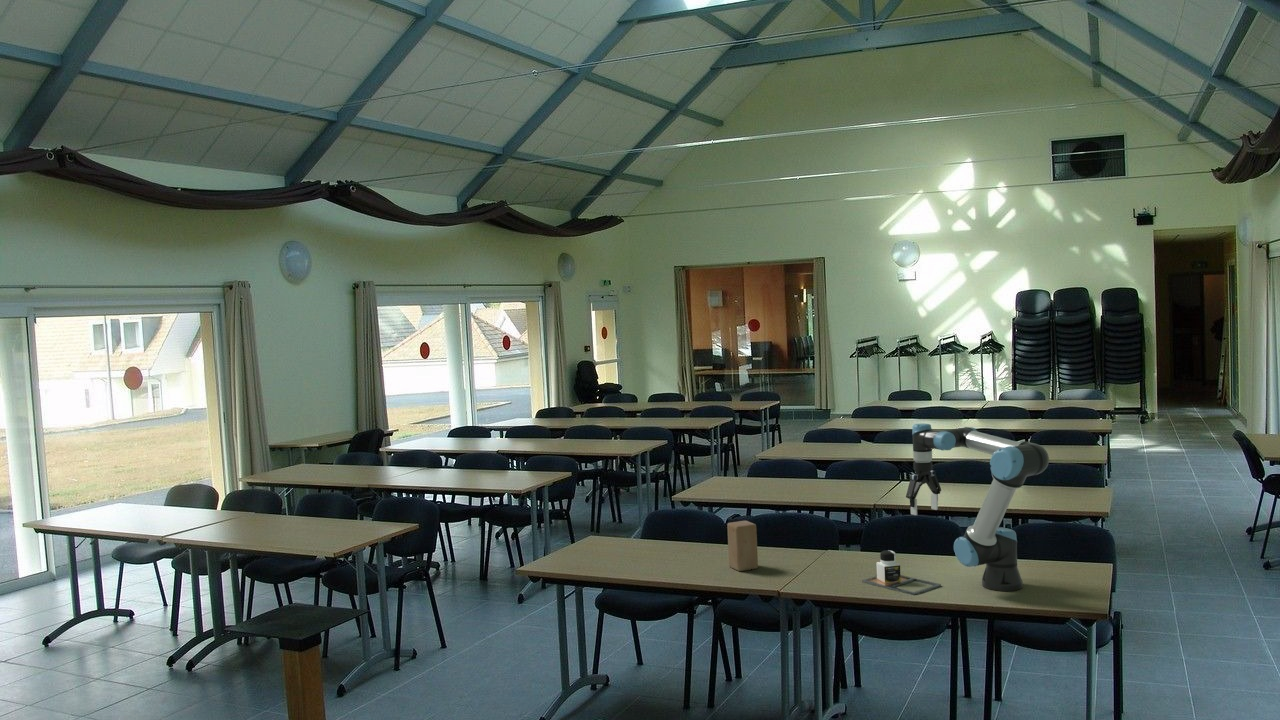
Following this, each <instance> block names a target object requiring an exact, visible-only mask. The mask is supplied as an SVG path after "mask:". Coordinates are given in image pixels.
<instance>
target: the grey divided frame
mask: <svg viewBox="0 0 1280 720" xmlns="http://www.w3.org/2000/svg"><path fill="white" fill-rule="evenodd" d="M900 576H901V581H900V582H892V583H884V582H882V581H880V580H878V579H877V575H875V576H871V577H869V578H866V579H865V578H864V579H862V580H861V582H862V583H863V584H868V585H872V586H877V587H880V588H884V589H887V590H893V591H896V592H901V593H904V594H909V595H911V596H916V595H919V594H921V593H925V592H928V591H931V590H934V589H937V588H940V587H942V584H941V583H937V582H933V581H930V580H929V581H928V580H924V579H921V578H915V577H912V576H908V575H907V576H906V575H904V574H903V575H902V574H900ZM912 582H917V583H922V584H926V585H931V586H928V587H925V588H922V589H920V590H915V591H911V590H906V589H904V588H903V589H902V588H899V586H902V585H906V584H909V583H912Z"/></svg>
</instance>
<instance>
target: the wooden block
mask: <svg viewBox="0 0 1280 720" xmlns="http://www.w3.org/2000/svg"><path fill="white" fill-rule="evenodd" d="M757 531H758V530H757V525H756V523H753V522H751V521H749V520H739V521H733V522H728V523H727V548H728V550H727V551H728V553H727V554H728V567H729V568H731V569H734V570H735V571H738V572H743V571H751V569H752V570H756V569H758V568H759V561H758V559H759V558H758V557H759V556H758V535H757Z"/></svg>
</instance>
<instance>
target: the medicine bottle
mask: <svg viewBox="0 0 1280 720" xmlns="http://www.w3.org/2000/svg"><path fill="white" fill-rule="evenodd" d="M879 554H880V555H879V557H880V558H879V559H880V561H877V562H876V563H875V564H876V576H877V579H878V580H880V581H882V582H884V583H892V582H900V581H901V576H900V575H901V564H900V563H898V562H897V560H896V558H897V557H896V556H897V555H896V552H895V551H893V550H889V549H888V550H882V551H880V553H879Z"/></svg>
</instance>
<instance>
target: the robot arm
mask: <svg viewBox="0 0 1280 720" xmlns="http://www.w3.org/2000/svg"><path fill="white" fill-rule="evenodd" d="M911 435H912V452H913V453H912V455H913V457H912V458H913V463H912V464H913V470H914V472H915V474H912V473H911V474H910V476H909V477H910V478H909V483H908V486H907V490H906V495H905V498H907V499H908V500H909V507H910V515H913V516H918V499H916V498H917V496H918V494H919V491H920V489H921V487H922V486H923V485H927V486H928V489H929V490H930V492H931V493H930V505H931V506H930V507H931V510H935V511H937V510H939V507H938V505H939V503H938V502H939V495H940V494H941V492H942V488H941V485H940V482H939V479H938V477H937V472H936V470H933V461H932V460H933V450H940V451H951V450H953V448H967V449H970V450H974V451H978V452H981V453H984V454H987V455H991V457H990V460H989V465H990V472H991V476H992V481H991V484H990V486H989V489H988V491H987V493H986V495H985V498H984V499H983V502H982V504H981V507H980V509H979V511H978V513H977V516H976V518H975V521H974V523H973V524H972V525H969V526H968V527H967V528H966V530H965V533H964V534H963V536H959V537H957V538H956V539H955V540H954V542H953V551H954V553H955V557H956V559H957V561H959V563H960V564H961V565H963V566H964V567H977V566H978V567H979V566H982V565H985V569H984V570H983V571H984V572H983V574H982V578H981V585H982V587H984V588H985V589H988V590H991V591H992V590H993V591H1000V592H1013V591H1018V590H1021V589H1022V588H1023V586H1024V584H1023V579H1022V576H1021V574H1020V570H1019V567H1018V540H1017V533H1016V531H1015V530H1013V529H1010V528H1006V527H1000V525H1001V523H1002V521H1003V519H1004V516H1005V514H1006V512H1007V510H1008V508H1009V505H1010V503H1011V501H1012V499H1013V498H1014V497H1013V496H1014V495H1015V493H1016V490H1017V489H1020V488H1022V487H1023V485H1024V483H1025V481H1026V479H1027V477H1031V476H1032V477H1033V476H1037V475H1039V474H1042V473H1043V472H1045V470H1046V469H1047V468H1048V466H1049V463H1050V457H1049V453H1048V451H1047V450H1046V449H1045V448H1044V446H1042V445H1040V444H1038V443H1034V442H1030V441H1021V442H1020V441H1016V440H1011V439H1008V438H1004V437H1001V436H997V435H991V434H989V433H984V432H980V431H978V430H977V429H976V428H975V427H973V426H970V427H969V426H965V427H959V428H952V429H943V430H942V429H941V430H936V429H935V430H934V429H933V428H932V425H931V424H930V423H925V422H924V423H914V424H913V425H912V433H911Z"/></svg>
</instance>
